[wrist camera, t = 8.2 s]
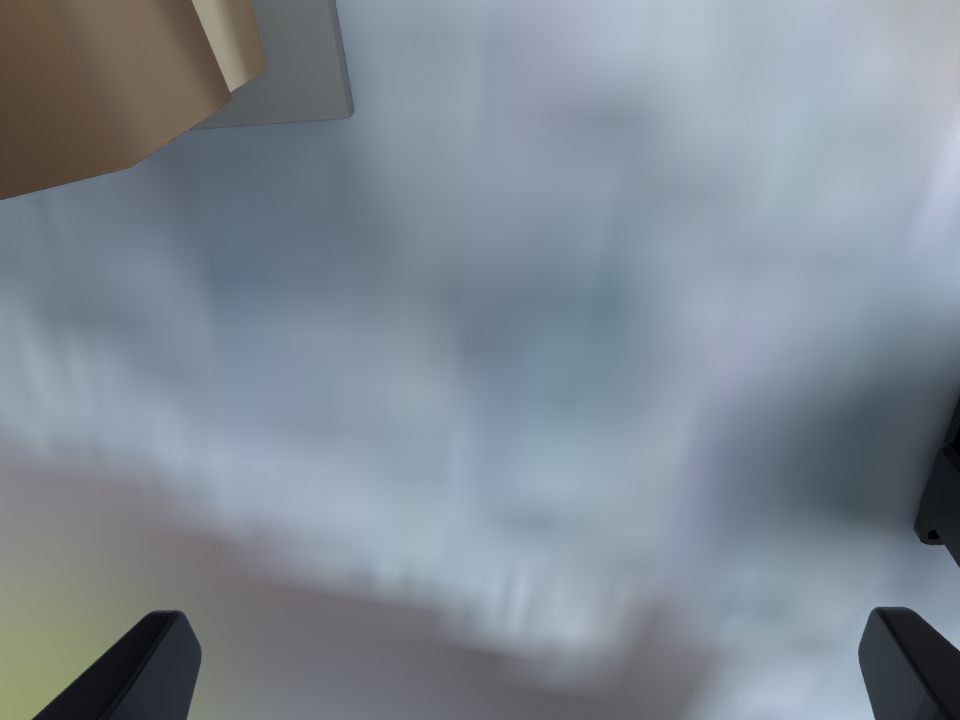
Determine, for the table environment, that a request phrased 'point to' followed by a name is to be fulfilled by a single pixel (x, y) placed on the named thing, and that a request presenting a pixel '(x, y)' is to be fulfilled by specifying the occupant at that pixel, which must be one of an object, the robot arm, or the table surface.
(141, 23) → the lintel
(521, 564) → the table surface
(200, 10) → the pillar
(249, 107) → the mat
